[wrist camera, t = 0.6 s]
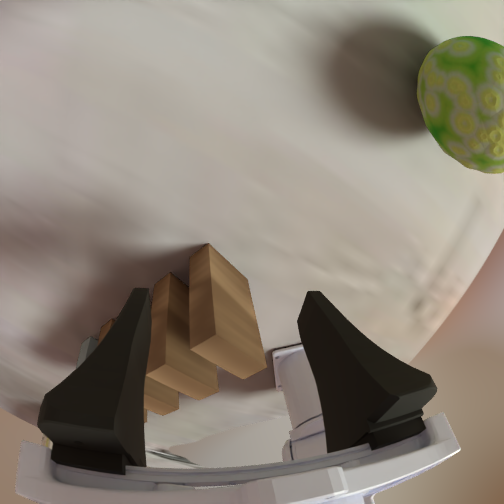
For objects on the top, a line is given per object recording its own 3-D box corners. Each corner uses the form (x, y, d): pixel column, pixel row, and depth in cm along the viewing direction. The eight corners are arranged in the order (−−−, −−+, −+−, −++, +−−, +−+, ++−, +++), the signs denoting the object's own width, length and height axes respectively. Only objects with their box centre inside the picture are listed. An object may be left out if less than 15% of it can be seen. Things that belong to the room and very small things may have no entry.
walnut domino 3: (229, 291, 27) (243, 379, 19) (189, 257, 24) (190, 349, 17) (247, 279, 26) (267, 367, 19) (208, 243, 23) (216, 334, 16)
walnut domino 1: (164, 334, 29) (162, 415, 21) (125, 308, 26) (111, 393, 19) (178, 325, 28) (179, 409, 21) (138, 297, 26) (126, 385, 18)
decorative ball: (429, 166, 22) (511, 226, 14) (367, 77, 18) (470, 105, 9) (487, 101, 19) (570, 139, 11) (438, 10, 14) (539, 19, 6)
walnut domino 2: (194, 314, 28) (198, 400, 20) (154, 284, 25) (145, 375, 18) (210, 304, 27) (219, 391, 20) (170, 272, 24) (165, 364, 17)
